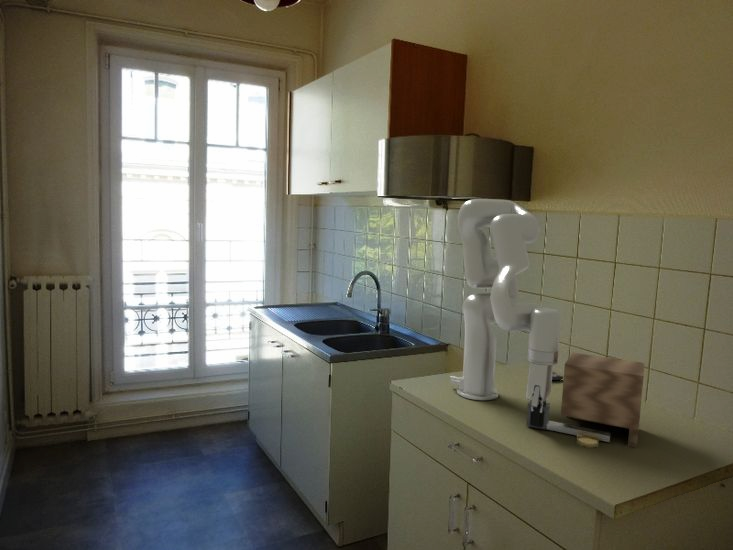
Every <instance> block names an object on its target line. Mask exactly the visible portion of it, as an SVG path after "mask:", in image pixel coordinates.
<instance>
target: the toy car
mask: <svg viewBox="0 0 733 550" xmlns="http://www.w3.org/2000/svg"><path fill="white" fill-rule="evenodd" d="M561 379H563V380H564V375H561V374H559V373H557V372H555V371H553V373H552V380H557V381H558V380H561Z"/></svg>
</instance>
